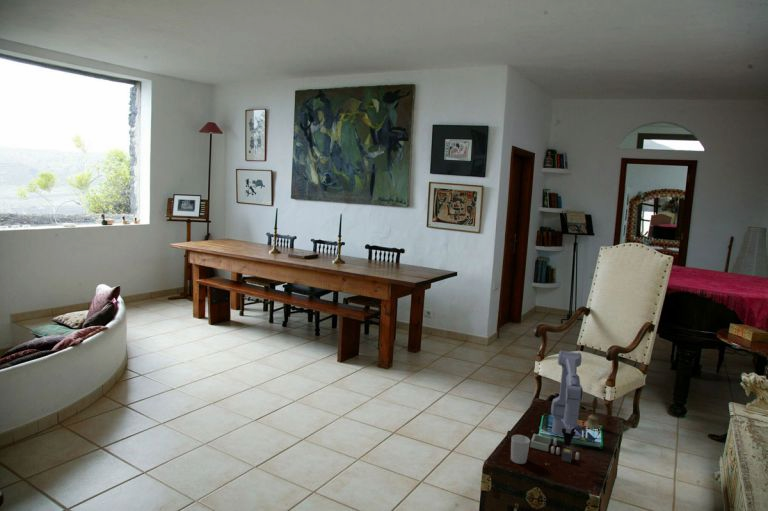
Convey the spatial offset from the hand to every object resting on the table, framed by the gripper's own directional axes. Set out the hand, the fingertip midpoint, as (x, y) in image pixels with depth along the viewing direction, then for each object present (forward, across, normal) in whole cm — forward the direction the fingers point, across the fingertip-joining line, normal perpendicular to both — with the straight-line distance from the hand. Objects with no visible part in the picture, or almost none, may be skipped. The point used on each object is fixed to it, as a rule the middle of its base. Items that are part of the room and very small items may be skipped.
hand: (568, 441), depth 230 cm
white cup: (+11, +8, -19) cm, 23 cm away
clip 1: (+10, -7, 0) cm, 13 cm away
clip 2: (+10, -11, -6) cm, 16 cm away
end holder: (+10, -11, -12) cm, 19 cm away
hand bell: (+11, -46, +8) cm, 48 cm away
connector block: (+10, -4, 0) cm, 11 cm away
